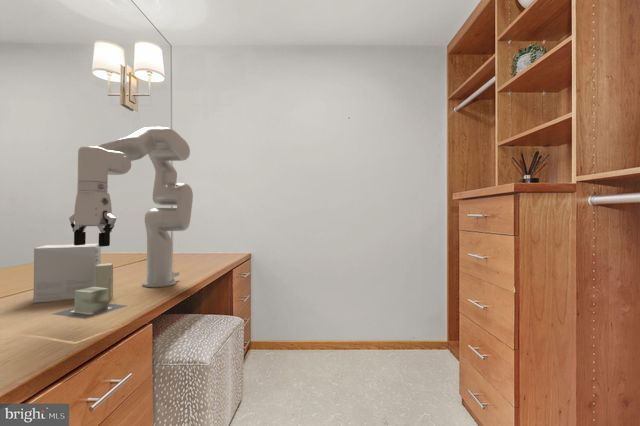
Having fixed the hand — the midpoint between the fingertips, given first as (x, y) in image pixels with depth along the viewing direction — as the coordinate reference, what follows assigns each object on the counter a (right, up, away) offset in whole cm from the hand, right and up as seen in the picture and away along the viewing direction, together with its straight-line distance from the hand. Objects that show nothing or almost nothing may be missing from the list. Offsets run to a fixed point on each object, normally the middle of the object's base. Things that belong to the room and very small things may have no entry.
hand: (91, 245), depth 103 cm
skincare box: (-4, -20, +13) cm, 24 cm away
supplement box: (-20, -20, +18) cm, 33 cm away
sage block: (0, -19, 0) cm, 19 cm away
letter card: (0, -20, 0) cm, 20 cm away
